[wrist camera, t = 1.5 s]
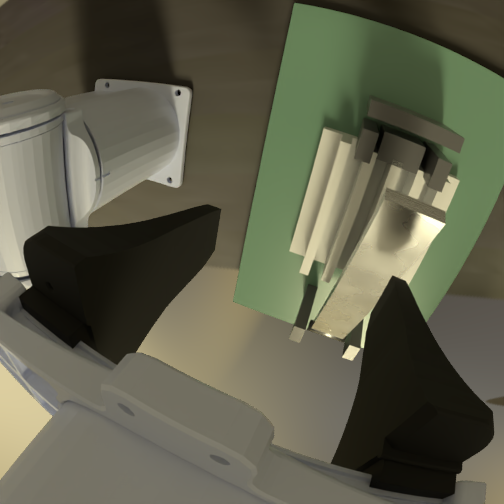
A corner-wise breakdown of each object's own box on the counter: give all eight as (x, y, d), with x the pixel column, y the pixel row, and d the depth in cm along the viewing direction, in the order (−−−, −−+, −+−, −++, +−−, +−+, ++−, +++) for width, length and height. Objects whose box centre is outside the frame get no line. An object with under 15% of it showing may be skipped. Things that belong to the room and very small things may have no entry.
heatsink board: (236, 296, 29) (210, 339, 25) (297, 5, 15) (272, -18, 11) (398, 352, 26) (397, 402, 22) (527, 96, 12) (571, 108, 8)
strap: (309, 321, 23) (306, 331, 22) (381, 183, 10) (379, 199, 10) (345, 333, 22) (342, 343, 22) (449, 211, 10) (450, 228, 9)
